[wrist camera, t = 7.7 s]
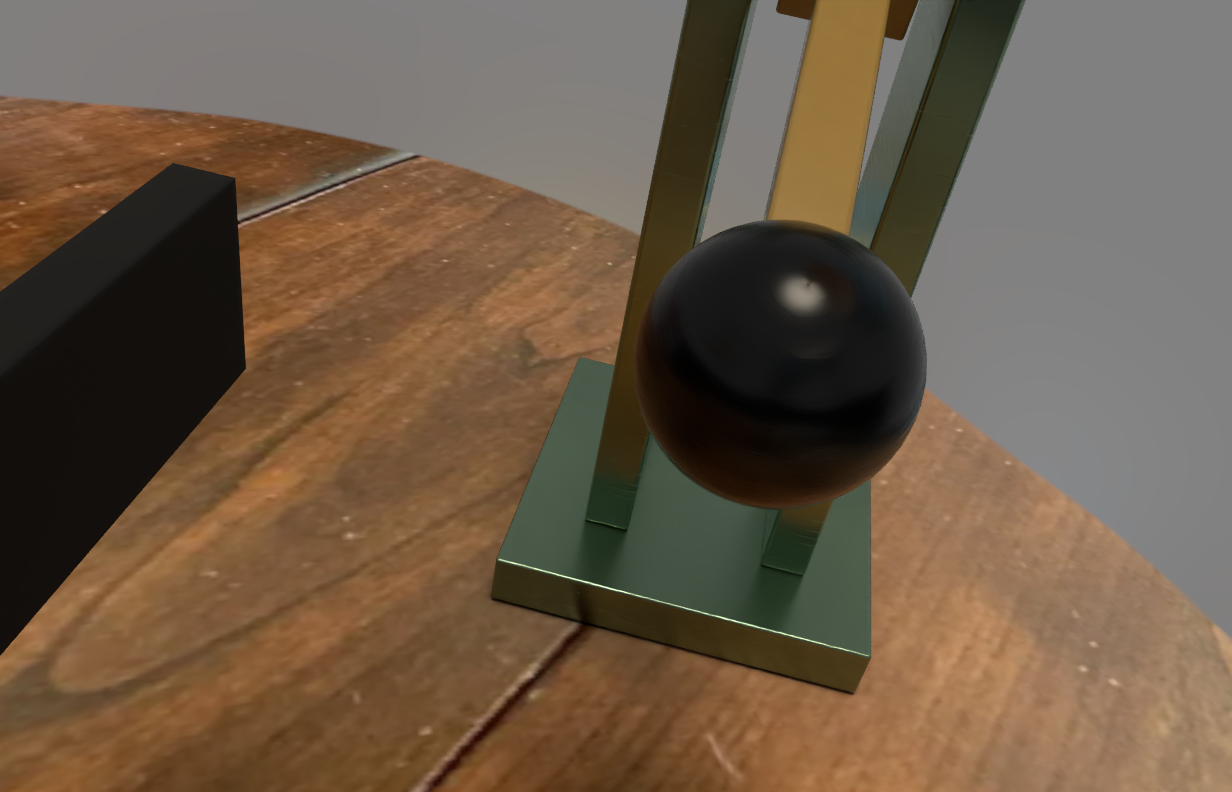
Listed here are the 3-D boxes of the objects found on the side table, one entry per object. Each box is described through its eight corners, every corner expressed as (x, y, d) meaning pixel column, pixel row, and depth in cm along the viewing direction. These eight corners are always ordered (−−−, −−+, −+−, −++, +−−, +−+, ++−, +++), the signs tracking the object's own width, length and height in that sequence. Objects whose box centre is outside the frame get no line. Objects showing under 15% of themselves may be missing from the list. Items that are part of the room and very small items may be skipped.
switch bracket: (854, 695, 22) (1231, -106, 13) (490, 598, 23) (603, -241, 14) (857, 462, 29) (1112, -187, 20) (573, 390, 29) (688, -275, 20)
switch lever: (861, 582, 14) (956, 466, 11) (594, 513, 14) (612, 380, 11) (946, -28, 20) (1024, -219, 17) (757, -70, 20) (798, -266, 17)
